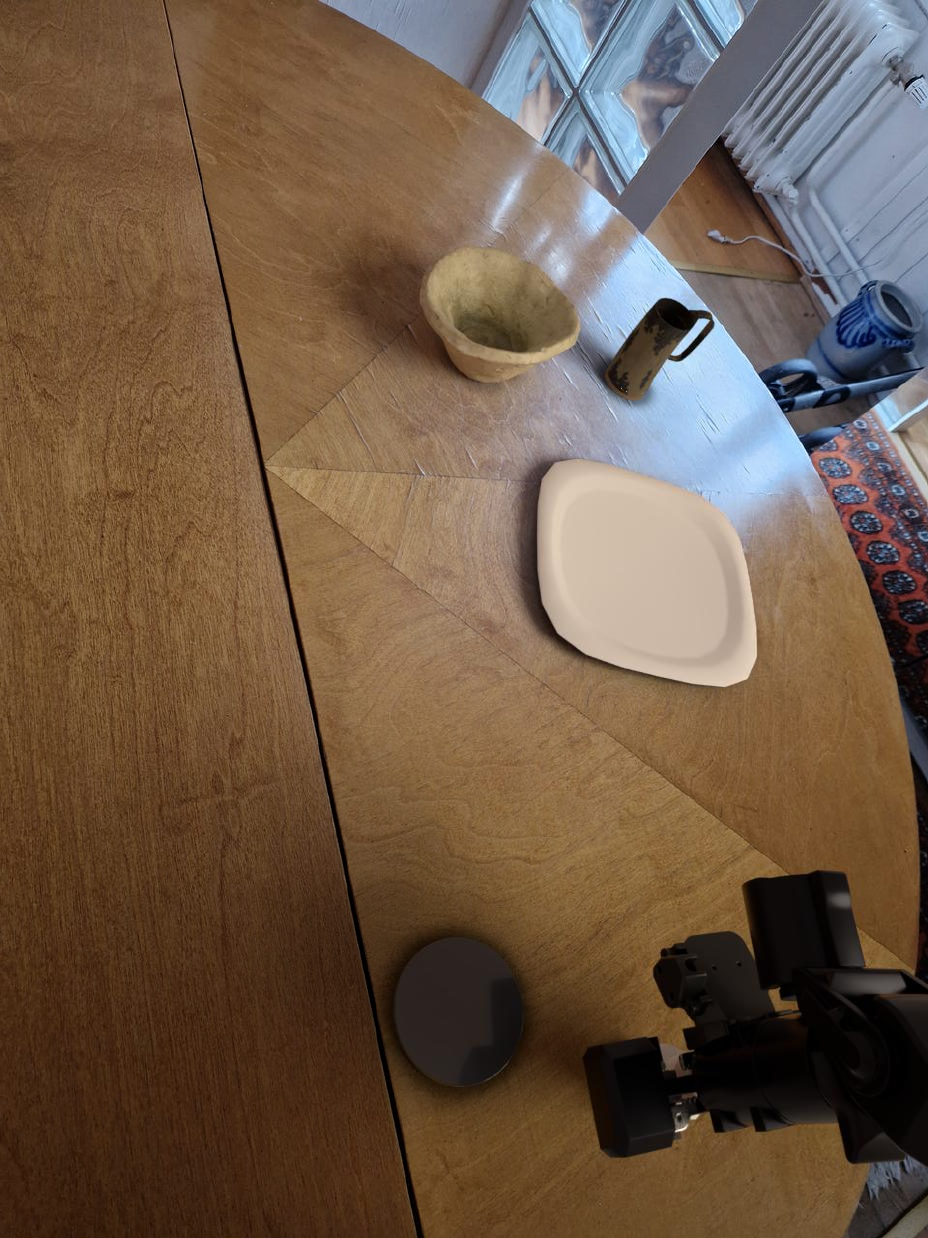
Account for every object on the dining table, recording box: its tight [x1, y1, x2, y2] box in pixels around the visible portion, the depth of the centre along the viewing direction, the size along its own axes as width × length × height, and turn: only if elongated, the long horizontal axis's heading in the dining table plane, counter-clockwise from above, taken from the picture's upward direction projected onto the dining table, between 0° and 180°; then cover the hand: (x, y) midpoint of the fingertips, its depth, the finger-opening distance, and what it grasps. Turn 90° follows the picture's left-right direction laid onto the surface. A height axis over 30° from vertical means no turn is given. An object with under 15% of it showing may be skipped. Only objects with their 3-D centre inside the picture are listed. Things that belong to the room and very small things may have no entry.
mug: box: [604, 297, 716, 401], centre depth 103 cm, size 8×6×12 cm
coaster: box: [392, 936, 525, 1088], centre depth 65 cm, size 10×10×1 cm
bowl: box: [418, 246, 581, 384], centre depth 95 cm, size 14×18×15 cm
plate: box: [536, 458, 758, 689], centre depth 92 cm, size 25×25×2 cm
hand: (654, 1084), depth 65 cm, fingers closed on salt shaker, 5 cm apart
